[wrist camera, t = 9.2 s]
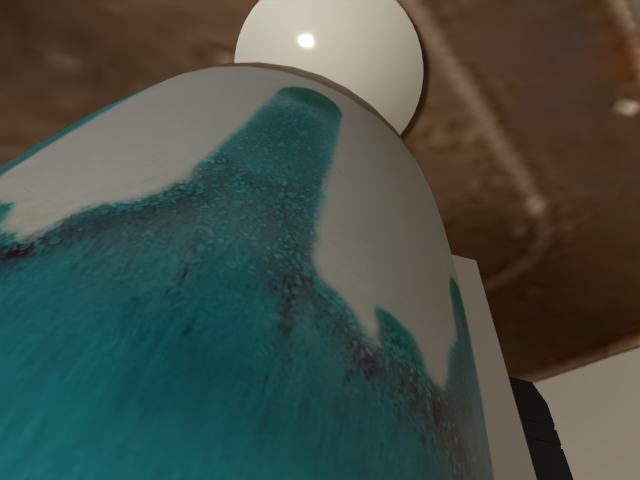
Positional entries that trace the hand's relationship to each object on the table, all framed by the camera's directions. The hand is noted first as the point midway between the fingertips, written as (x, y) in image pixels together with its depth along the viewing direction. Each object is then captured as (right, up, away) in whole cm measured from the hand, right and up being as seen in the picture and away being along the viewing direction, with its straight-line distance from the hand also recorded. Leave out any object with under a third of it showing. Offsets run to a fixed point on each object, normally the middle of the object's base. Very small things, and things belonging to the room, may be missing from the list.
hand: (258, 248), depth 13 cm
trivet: (+2, +11, +16) cm, 19 cm away
